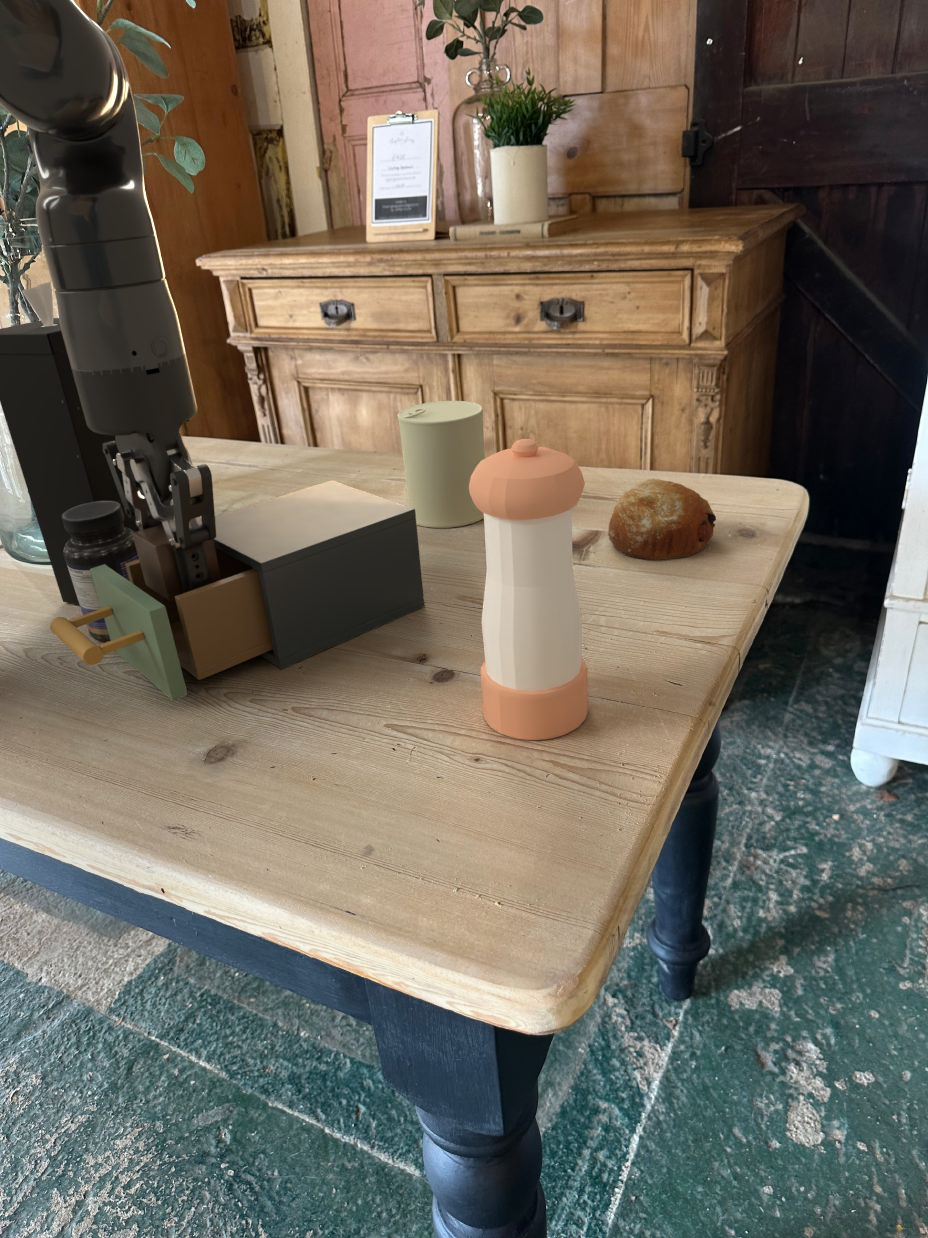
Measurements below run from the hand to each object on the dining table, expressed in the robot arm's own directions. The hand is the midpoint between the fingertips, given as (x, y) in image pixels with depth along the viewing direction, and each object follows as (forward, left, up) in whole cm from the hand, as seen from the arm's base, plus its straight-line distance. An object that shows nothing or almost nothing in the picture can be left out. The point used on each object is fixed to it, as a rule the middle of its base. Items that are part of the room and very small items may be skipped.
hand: (182, 580), depth 67 cm
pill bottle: (-2, +11, -7) cm, 13 cm away
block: (0, 0, 0) cm, 0 cm away
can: (+35, +10, -7) cm, 37 cm away
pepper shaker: (+13, -25, -7) cm, 29 cm away
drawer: (0, 0, -6) cm, 6 cm away
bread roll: (+43, -13, -7) cm, 46 cm away
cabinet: (+11, 0, -7) cm, 13 cm away
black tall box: (+1, +19, -7) cm, 20 cm away
